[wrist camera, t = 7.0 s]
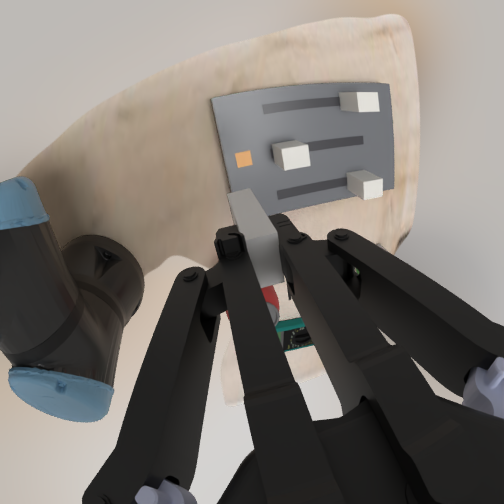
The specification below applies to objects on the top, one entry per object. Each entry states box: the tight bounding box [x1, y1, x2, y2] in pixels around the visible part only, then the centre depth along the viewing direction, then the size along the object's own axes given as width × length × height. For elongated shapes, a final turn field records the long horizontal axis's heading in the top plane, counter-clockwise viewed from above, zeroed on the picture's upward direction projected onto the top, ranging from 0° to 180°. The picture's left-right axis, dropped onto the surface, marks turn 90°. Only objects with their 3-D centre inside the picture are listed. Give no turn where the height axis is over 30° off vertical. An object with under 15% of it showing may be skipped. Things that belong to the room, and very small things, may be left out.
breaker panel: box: [211, 83, 394, 216], centre depth 31 cm, size 24×16×7 cm, turn 100°
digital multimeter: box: [275, 318, 314, 352], centre depth 50 cm, size 7×15×3 cm, turn 93°
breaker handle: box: [272, 140, 311, 171], centre depth 29 cm, size 3×2×4 cm
